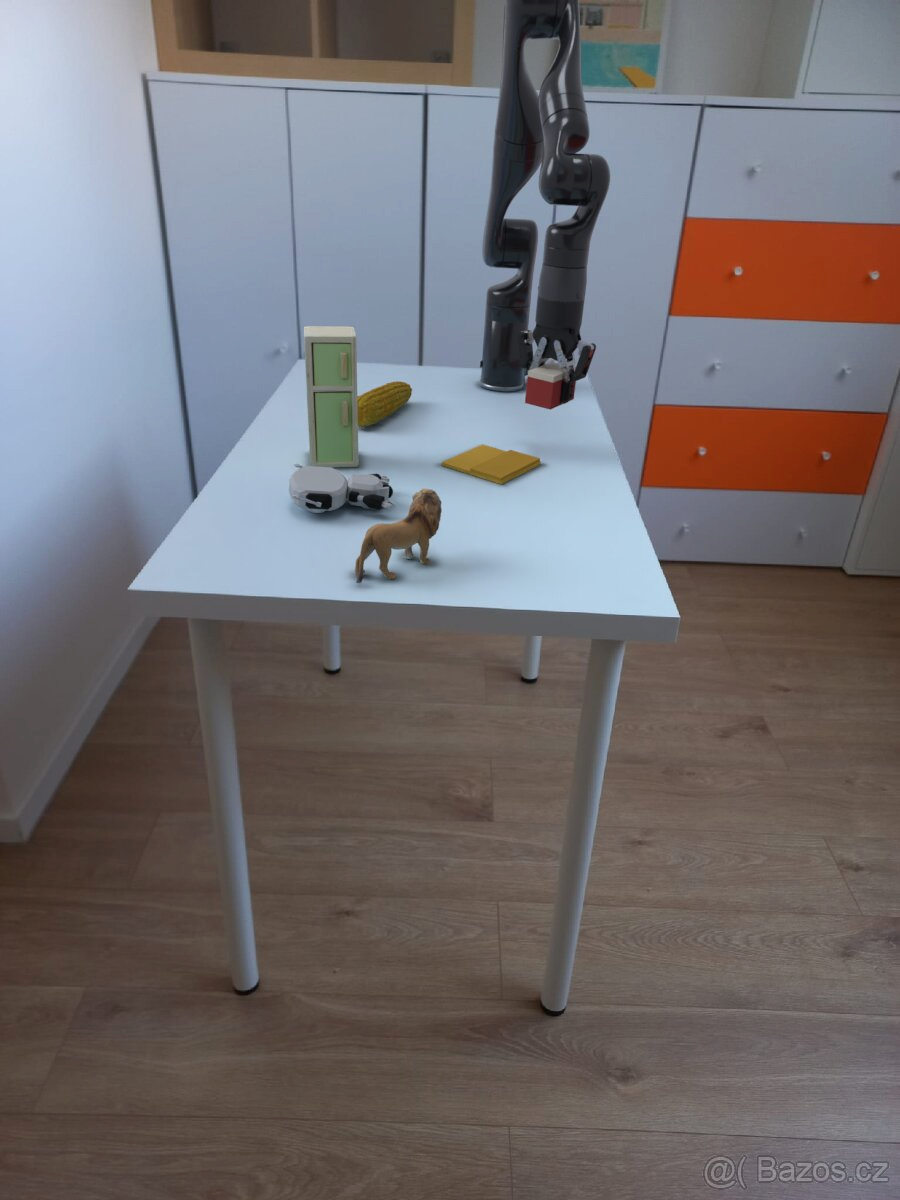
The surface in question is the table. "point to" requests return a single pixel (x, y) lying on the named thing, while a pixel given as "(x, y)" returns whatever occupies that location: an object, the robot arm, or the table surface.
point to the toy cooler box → (545, 386)
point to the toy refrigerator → (332, 395)
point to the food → (382, 402)
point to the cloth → (492, 463)
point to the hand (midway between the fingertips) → (549, 398)
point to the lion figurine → (403, 533)
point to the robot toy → (338, 489)
